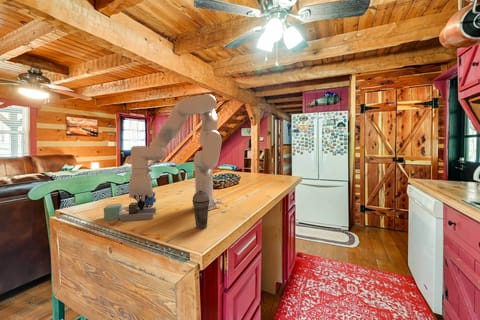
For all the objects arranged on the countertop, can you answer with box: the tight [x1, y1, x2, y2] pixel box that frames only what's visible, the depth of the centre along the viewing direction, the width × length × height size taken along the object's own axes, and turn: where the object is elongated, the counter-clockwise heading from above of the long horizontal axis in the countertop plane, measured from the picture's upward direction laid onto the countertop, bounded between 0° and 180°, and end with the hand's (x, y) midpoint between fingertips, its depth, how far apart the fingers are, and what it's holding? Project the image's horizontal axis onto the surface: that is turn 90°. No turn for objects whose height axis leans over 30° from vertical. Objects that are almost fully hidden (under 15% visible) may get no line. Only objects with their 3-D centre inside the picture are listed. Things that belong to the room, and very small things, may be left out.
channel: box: [119, 206, 157, 222], centre depth 111 cm, size 14×11×3 cm
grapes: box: [140, 191, 157, 207], centre depth 128 cm, size 12×7×12 cm, turn 70°
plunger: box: [119, 201, 138, 220], centre depth 110 cm, size 8×5×6 cm, turn 102°
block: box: [103, 203, 123, 222], centre depth 108 cm, size 6×6×6 cm
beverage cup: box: [192, 180, 210, 230], centre depth 96 cm, size 7×7×20 cm
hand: (141, 208), depth 111 cm, fingers closed
